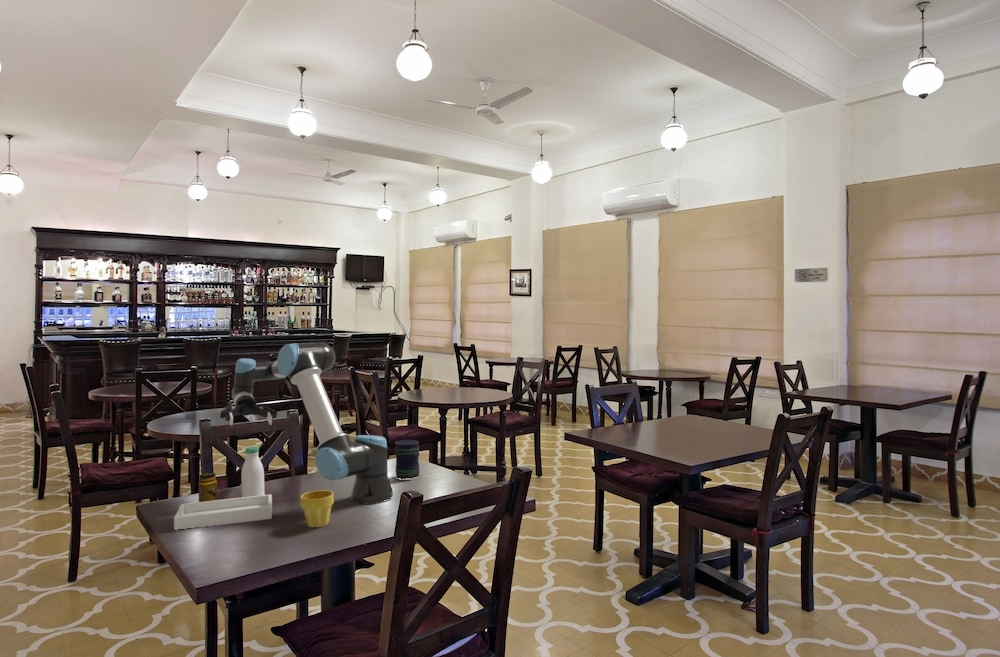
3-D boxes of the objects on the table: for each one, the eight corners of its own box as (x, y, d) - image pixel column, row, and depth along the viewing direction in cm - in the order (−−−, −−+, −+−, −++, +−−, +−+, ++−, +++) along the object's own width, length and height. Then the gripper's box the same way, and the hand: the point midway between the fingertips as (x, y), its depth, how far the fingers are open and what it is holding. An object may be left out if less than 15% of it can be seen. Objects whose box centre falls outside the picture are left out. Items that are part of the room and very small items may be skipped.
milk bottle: (268, 501, 222) (267, 447, 222) (247, 506, 217) (246, 451, 216) (258, 497, 228) (257, 444, 227) (238, 502, 222) (236, 448, 222)
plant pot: (294, 528, 193) (293, 497, 193) (313, 518, 203) (312, 488, 203) (322, 531, 190) (322, 500, 190) (340, 520, 200) (339, 491, 200)
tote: (271, 505, 218) (271, 494, 218) (271, 518, 203) (271, 506, 203) (181, 515, 208) (181, 504, 208) (174, 530, 193) (173, 518, 193)
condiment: (220, 507, 216) (219, 474, 216) (193, 512, 211) (192, 478, 211) (216, 502, 222) (215, 470, 222) (191, 507, 217) (190, 474, 217)
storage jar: (424, 477, 253) (423, 441, 252) (405, 482, 246) (404, 445, 245) (409, 473, 259) (408, 438, 259) (390, 478, 252) (390, 442, 252)
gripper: (276, 412, 250) (285, 430, 232) (210, 412, 238) (214, 431, 220) (278, 395, 249) (287, 412, 231) (211, 394, 237) (215, 412, 219)
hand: (251, 421), depth 225 cm, fingers open, 13 cm apart
